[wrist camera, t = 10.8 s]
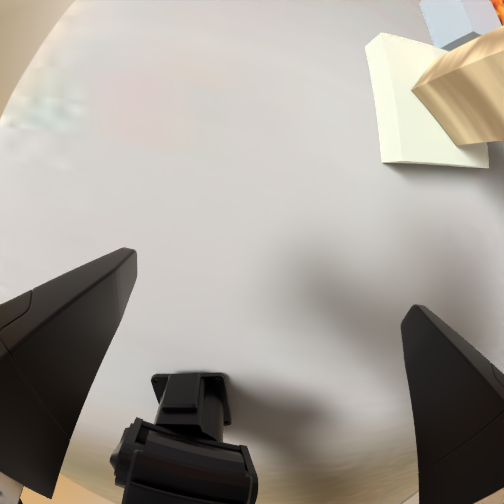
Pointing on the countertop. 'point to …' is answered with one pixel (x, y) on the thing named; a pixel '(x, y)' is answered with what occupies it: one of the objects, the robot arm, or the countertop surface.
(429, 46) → the plinth
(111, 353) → the countertop surface
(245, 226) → the countertop surface
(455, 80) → the pillar
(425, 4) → the grey cube
